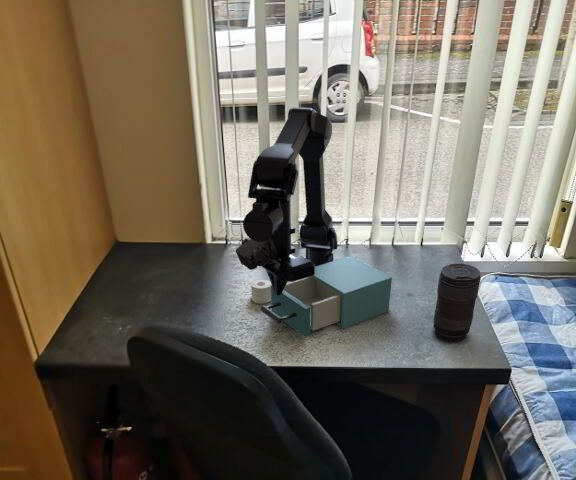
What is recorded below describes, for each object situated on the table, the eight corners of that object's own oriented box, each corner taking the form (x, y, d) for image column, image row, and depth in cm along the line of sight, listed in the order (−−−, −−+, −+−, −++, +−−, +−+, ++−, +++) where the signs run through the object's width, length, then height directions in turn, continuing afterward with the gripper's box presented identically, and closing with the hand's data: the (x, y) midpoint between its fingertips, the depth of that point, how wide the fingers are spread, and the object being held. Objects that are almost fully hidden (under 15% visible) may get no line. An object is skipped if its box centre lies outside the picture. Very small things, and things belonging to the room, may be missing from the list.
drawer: (286, 344, 120) (285, 315, 116) (253, 318, 129) (251, 291, 125) (350, 320, 128) (352, 292, 124) (315, 297, 137) (315, 271, 133)
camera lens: (426, 326, 127) (435, 263, 118) (461, 324, 127) (473, 261, 118) (436, 345, 120) (447, 280, 111) (474, 343, 121) (488, 278, 112)
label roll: (247, 300, 138) (246, 284, 135) (260, 292, 141) (259, 277, 139) (263, 305, 136) (262, 290, 133) (275, 297, 139) (275, 282, 136)
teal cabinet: (342, 328, 126) (344, 293, 121) (304, 303, 136) (304, 269, 131) (388, 311, 133) (392, 277, 127) (348, 288, 142) (350, 255, 137)
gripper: (217, 217, 114) (223, 288, 123) (266, 247, 102) (269, 323, 111) (264, 206, 119) (266, 275, 128) (317, 233, 107) (316, 307, 116)
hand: (278, 294), depth 121 cm, fingers closed
